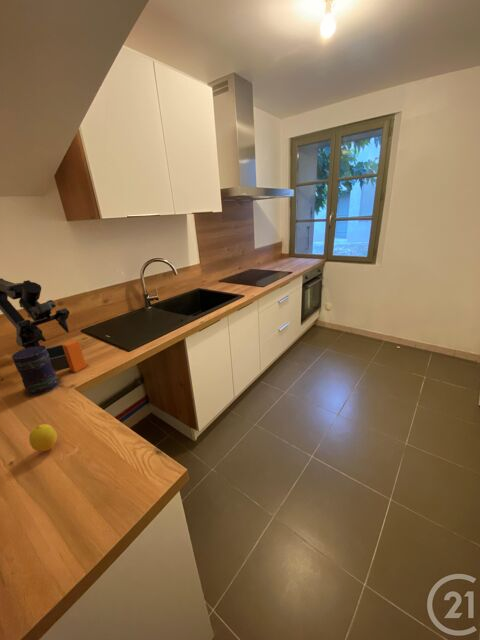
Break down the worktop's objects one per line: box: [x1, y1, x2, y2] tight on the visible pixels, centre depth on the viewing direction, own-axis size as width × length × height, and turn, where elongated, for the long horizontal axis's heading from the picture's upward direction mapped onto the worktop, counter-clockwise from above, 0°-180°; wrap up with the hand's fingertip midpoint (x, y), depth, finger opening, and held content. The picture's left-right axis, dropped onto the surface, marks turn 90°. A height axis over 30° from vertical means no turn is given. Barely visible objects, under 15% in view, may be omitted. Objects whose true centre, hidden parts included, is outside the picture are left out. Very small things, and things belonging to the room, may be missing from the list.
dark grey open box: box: [46, 344, 70, 372], centre depth 113 cm, size 14×13×6 cm
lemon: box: [28, 423, 58, 452], centre depth 68 cm, size 6×6×8 cm
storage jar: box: [11, 345, 59, 396], centre depth 94 cm, size 10×10×15 cm
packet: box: [61, 339, 87, 373], centre depth 106 cm, size 3×5×12 cm
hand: (57, 336), depth 107 cm, fingers open, 9 cm apart
